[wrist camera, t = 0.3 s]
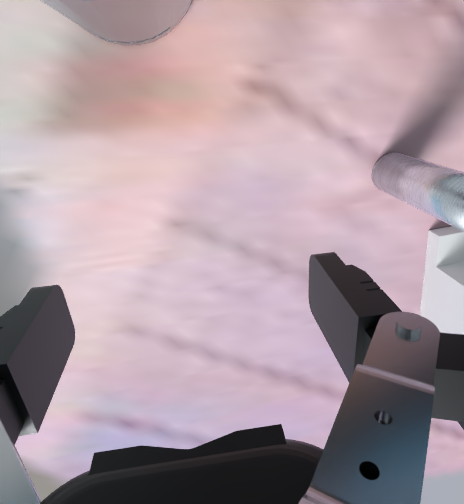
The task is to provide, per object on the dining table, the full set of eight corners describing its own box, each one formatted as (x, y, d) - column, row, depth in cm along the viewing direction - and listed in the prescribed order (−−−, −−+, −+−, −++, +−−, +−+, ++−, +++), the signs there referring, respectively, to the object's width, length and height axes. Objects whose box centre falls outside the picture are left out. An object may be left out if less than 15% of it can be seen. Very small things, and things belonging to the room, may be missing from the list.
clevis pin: (369, 153, 30) (483, 192, 19) (412, 146, 30) (548, 181, 19) (368, 196, 31) (473, 255, 20) (408, 189, 31) (533, 244, 21)
